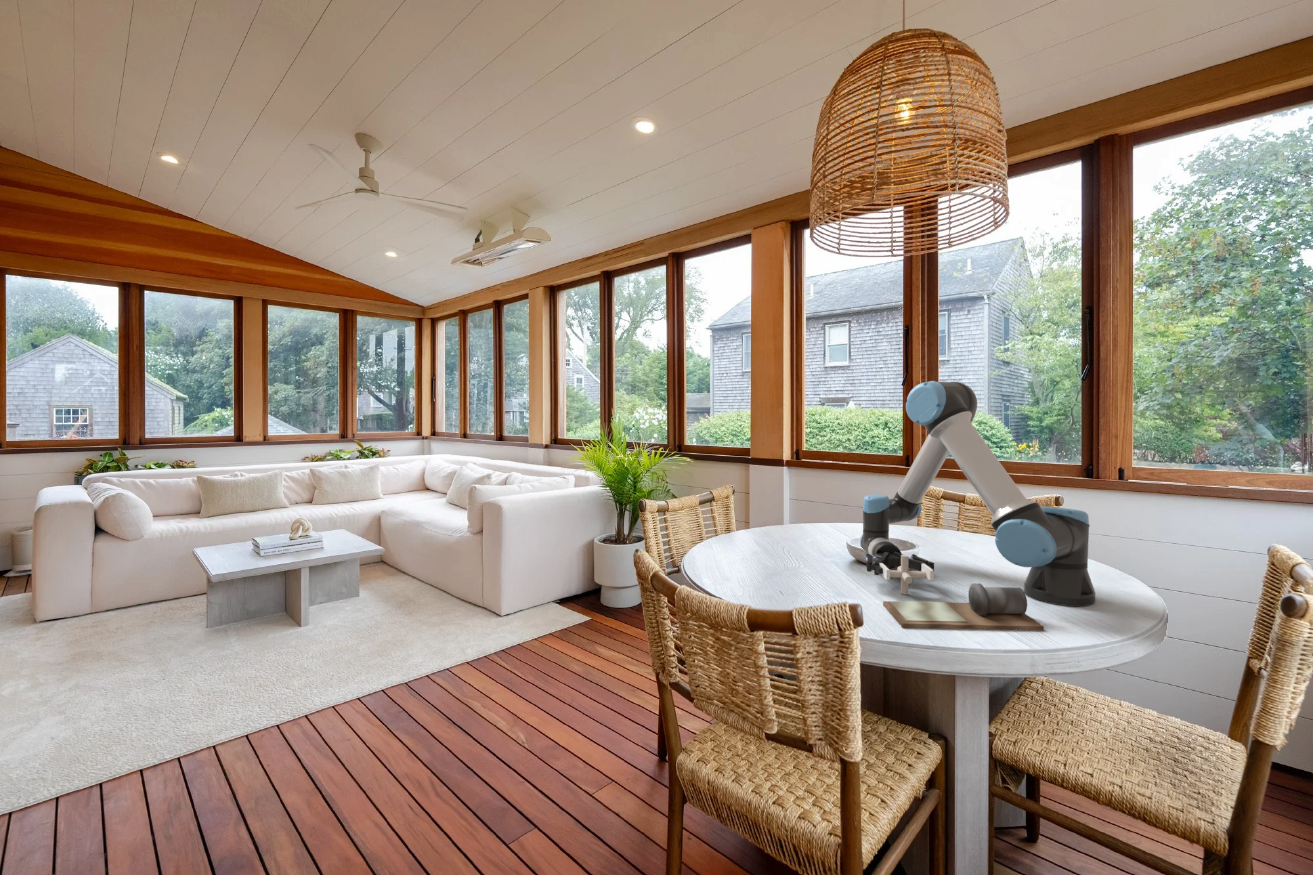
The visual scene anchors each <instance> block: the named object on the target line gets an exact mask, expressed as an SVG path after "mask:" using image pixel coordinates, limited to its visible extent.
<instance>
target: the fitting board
mask: <svg viewBox="0 0 1313 875" xmlns="http://www.w3.org/2000/svg"><path fill="white" fill-rule="evenodd" d="M967 595H968V602H955V601H954V602H953V601H952V602H951V601H949V602H947V601H903V600H902V601H901V600H900V601H899V600H898V601H897V600H896V601H895V600H894V601H893V600H892V601H891V600H889V601H887V600H886V601H884V600H883V602H882V606H883V607H884V608H885V609H886V611H887V612H888V613H889V614H890V615H891V616H892V617H893V619H894V620H895V621H896V622H897V624H898V625H899V626H900V625H901V626H900V627H901V628H902V627H903V628H902V629H935V630H937V629H940V630H941V629H944V630H985V631H986V630H987V631H988V630H990V631H992V630H993V631H1027V632H1028V631H1029V632H1030V631H1032V632H1033V631H1034V632H1035V631H1040V632H1041V631H1042V632H1043V631H1044V630H1045V625H1042V623H1039V622H1038V621H1037V620H1036V619H1034V618H1032V617H1031V616H1029V615H1028V614H1027V613H1026V612H1027V610H1028V599H1027V595H1026V594H1025V593H1024V589H1022V588H1021V587H1012V586H1011V587H1009V586H1005V587H1003V586H984V585H983V584H981V583H979V582H977V583H971V584H970V585H969V588H968V594H967Z"/></svg>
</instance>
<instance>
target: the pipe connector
mask: <svg viewBox="0 0 1313 875" xmlns="http://www.w3.org/2000/svg"><path fill="white" fill-rule="evenodd" d="M908 557H909V555H907V554H903V555H901V566H899V567H896V568H897V569H896V570H894V569H889V570H890V578H900V594H902V595H908V594H909V584H912V583H913V579H927V578H926V573H925V572H923V571H917V570H909V568H908Z"/></svg>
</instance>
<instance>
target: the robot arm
mask: <svg viewBox="0 0 1313 875" xmlns="http://www.w3.org/2000/svg"><path fill="white" fill-rule="evenodd" d="M977 409H978V398H977V395H976V394H975V392H974V390H973V389H972V388H971V387H969V385H967V384H965V383H962V382H959V381H935V380H931V381H929V380H928V381H925V382H921V383H919V384H917V385H915V386H914V387H913V388H912V389H911V390H910V392H909V393H908V395H907V396H906V402H905V411H906V414H907V417H908V418H909V419H910V420H911V421H912V422H913V423H915V424H917V425H918V426H923V427H924V428H925V429H926V431H927V432H928V435H927V437H926V438H925V441H924V442H923V444H922V446H921V448H920V449H919V452H918V453H917V454H916V457H915V459H914V460H913V462H912V464H911V466H910V467H909V470H908V471H907V473H906V475H905V476H904V479H903V480H902V482H901V484H900V486H899V488H898V490H897V491H896V493H895V494H894V496H893V497H892V498H889V496H888V495H887V494H876V493H875V494H872V493H871V494H866V495H865V496H864V497H863V503H862V504H863V506H862V534H861V536H860V539H859V545H860V548H861V547H862V548H863V549H864V550H865V551H866V553H867V554H865V563H866V572H869V573H871V572H872V571H874V574H873V575H875V576H880V575H881V576H882V578H884V580H886V581H891V580H890V579H891V577H890V570H894V569H895V568H898V567H899V566H901V555H904V554H903V553H902V551H901V550H900V547H898V546H897V545H896V544H894V543H893V542H892V541H890V539H889V537H890V534H889V533H890V525H891V524H896V523H902V522H903V523H904V522H909V521H913V520H914V519H917V518H918V517H919V516H920V515H921V513H922V505H921V502H922V500H923V499H924V497H925V495H926V493H927V492H928V490H929V488H930V487H931V485H932V483H933V482H934V480H935V478H936V477H937V475H938V474H939V471H940V469H941V468H942V466H943V464H944V463H945V461H946V459H947V458H948V456H949V454H950V455H951V457H952V458H953V460H954V461H955V462H956V465H958V467H959V469H960V470H961V472H962V473H963V475H964V476H965V477H966V479H967V480H968V482H969V483H970V485H971V486H972V487H973V489H974V490H975V492H976V494H977V495H978V496H979V497H980V499H981V501H982V502H983V504H984V505H985V506H986V508H987V509H988V511H989V512H990V514H991V516H992V518H991V522H990V525H991V527H992V528H993V529H994V531H995V534H994V535H995V538H994V543H995V547H996V548H997V551H998V552H999V554H1000V555H1001V556H1002V557H1003V558H1004V559H1005V560H1006V561H1008V562H1009V563H1011V564H1013V565H1015V566H1018V567H1023V568H1030V570H1029V572H1028V574H1027V577H1026V580H1025V581H1024V585H1023V587H1024V589H1023V591H1024V593H1025V595H1026V596H1028V597H1030V598H1032V599H1035V600H1037V601H1040V602H1045V603H1049V604H1054V605H1061V606H1070V607H1074V606H1075V607H1085V606H1086V607H1087V606H1092V605H1094V604H1095V603H1096V591H1095V587H1094V585H1093V582H1092V579H1091V577H1090V574H1089V571H1088V568H1089V567H1088V565H1089V564H1088V563H1089V537H1090V536H1089V535H1090V526H1091V525H1090V520H1089V514H1088V513H1087V512H1086V511H1084V510H1079V509H1073V508H1066V507H1056V506H1045V505H1040V504H1039V503H1038V501H1036V500H1031V499H1028V498H1027V497H1026V496H1025V495H1024V493H1023V492H1022V491H1021V490H1020V488H1019V487H1018V486H1017V484H1016V483H1015V482H1014V480H1013V478H1012V477H1011V476H1010V475H1009V473H1008V472H1007V470H1006V468H1005V467H1004V466H1003V465H1002V463H1001V462H1000V461H999V460H998V458H997V457H996V455H995V454H994V453H993V451H992V450H991V448H990V447H989V445H988V444H987V443H986V442H985V440H984V439H983V438H982V436H981V434H980V433H979V432H978V430H977V429H976V428H975V426H974V425H973V423H972V422H973V420H974V418H975V416H976V413H977ZM862 548H861V549H862ZM908 569H911V570H912V571H923V572H925V573H926V578H925V579H928V580H929V581H930V582H932V581H934V573H935V562H932V561H930V560H928V559H926V558H923V557H920V556H918V555H916V554H914V553H912V554H911V555H910V556H908Z"/></svg>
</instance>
